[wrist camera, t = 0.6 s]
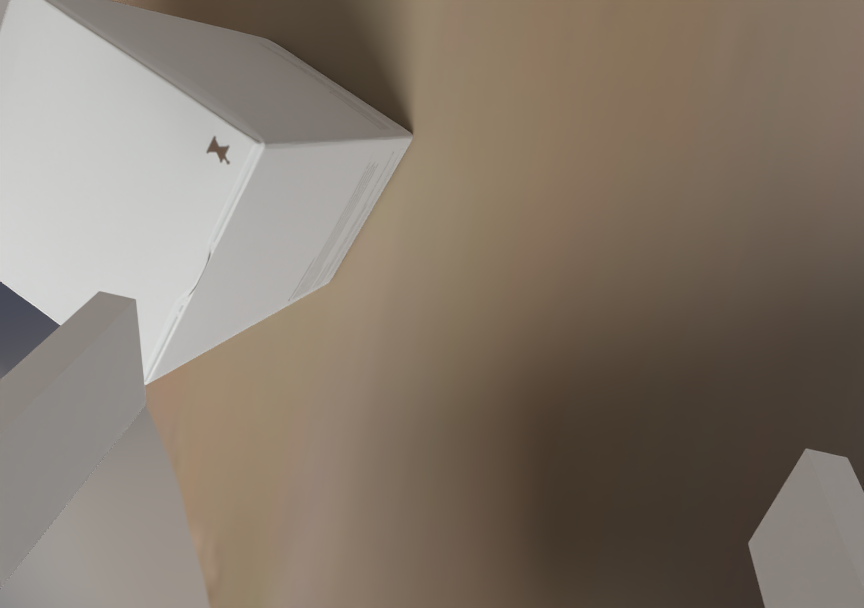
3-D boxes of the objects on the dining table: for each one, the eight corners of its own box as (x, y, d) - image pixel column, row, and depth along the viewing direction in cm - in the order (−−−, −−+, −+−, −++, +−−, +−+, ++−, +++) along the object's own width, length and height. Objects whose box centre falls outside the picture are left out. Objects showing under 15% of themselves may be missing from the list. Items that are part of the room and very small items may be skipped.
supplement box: (264, 30, 33) (9, -42, 19) (418, 134, 33) (273, 139, 19) (187, 191, 36) (-83, 232, 22) (327, 290, 36) (142, 395, 22)
